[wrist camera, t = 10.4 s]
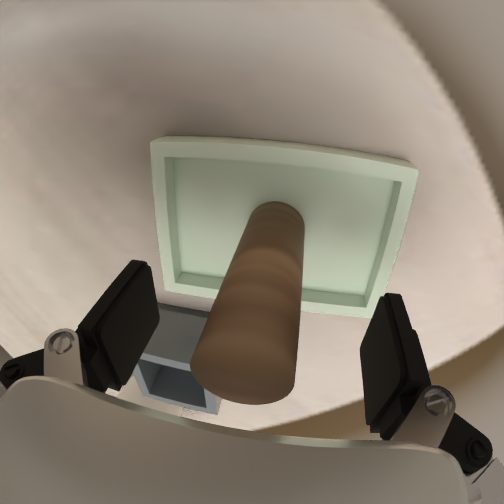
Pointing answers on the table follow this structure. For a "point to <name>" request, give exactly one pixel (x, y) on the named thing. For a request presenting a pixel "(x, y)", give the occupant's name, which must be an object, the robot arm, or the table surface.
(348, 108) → the table surface
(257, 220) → the dowel
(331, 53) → the table surface
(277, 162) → the tray
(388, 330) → the robot arm
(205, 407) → the pen cup
